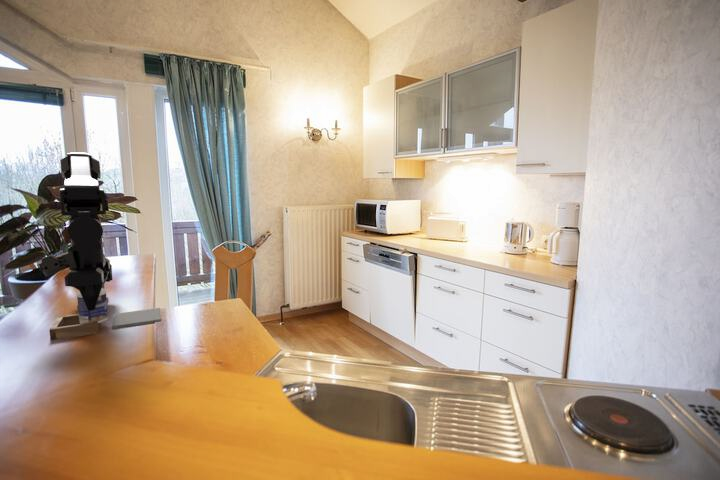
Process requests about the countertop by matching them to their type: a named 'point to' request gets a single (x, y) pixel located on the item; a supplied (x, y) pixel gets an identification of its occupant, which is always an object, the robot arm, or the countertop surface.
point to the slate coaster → (136, 318)
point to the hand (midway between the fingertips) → (93, 306)
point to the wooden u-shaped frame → (71, 327)
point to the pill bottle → (95, 315)
